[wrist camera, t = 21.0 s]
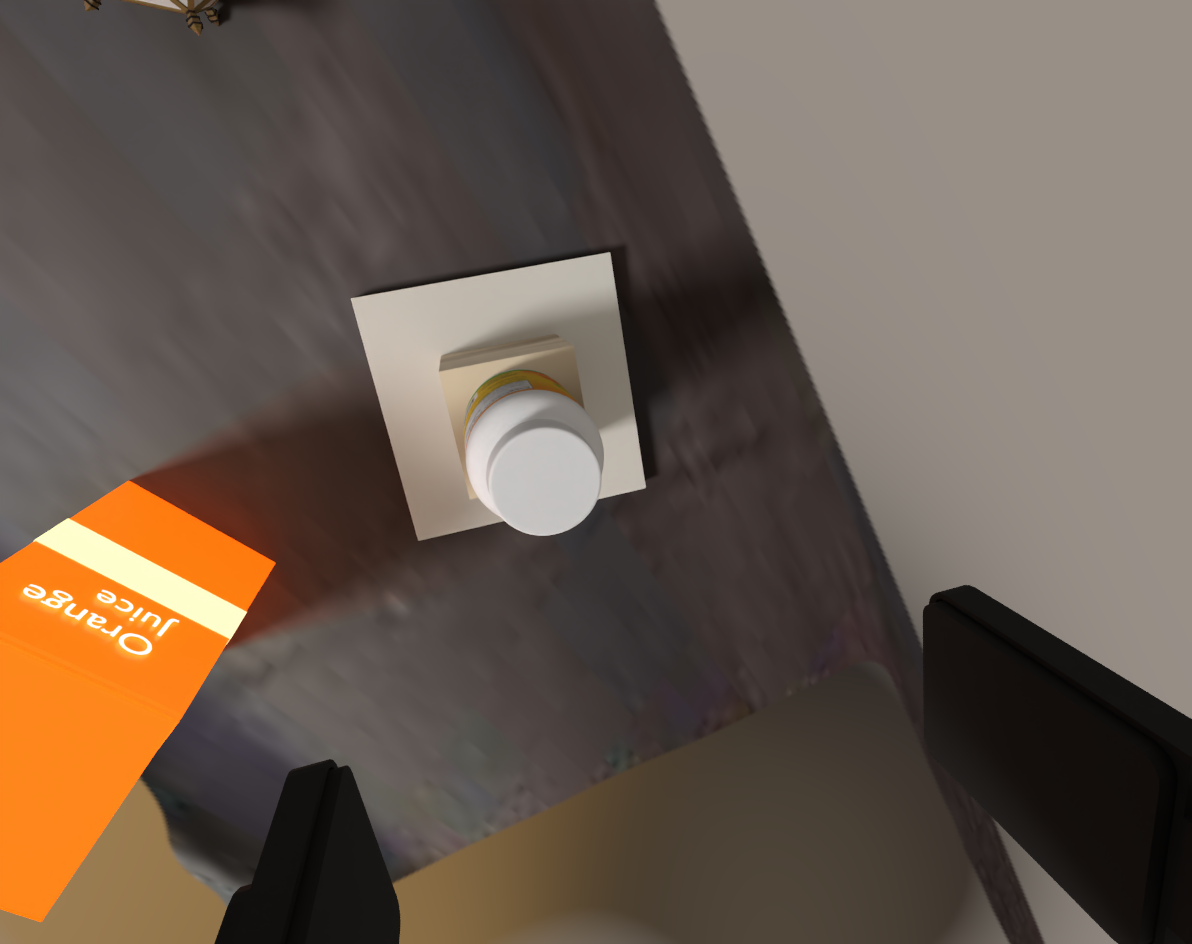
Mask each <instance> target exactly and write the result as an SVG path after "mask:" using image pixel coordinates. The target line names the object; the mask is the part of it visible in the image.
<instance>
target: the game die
mask: <svg viewBox="0 0 1192 944" xmlns="http://www.w3.org/2000/svg"><path fill="white" fill-rule="evenodd" d="M121 1H126V2H130V3H135V4H140V5H144V6H149V7H154V8H158V9H163V10H167V11H172V12H177V13H181V14H186V15H187V19H186V21H187V22H188V24H189V25H188V27H189V28H190V29H192V30H193V31H195V32H196V33H197V34H198V35H199V36H200V35H201V31H202V29H203V24H202V22H200V17H199V16H197V15H196V13H199V12H202V11H204V10H205V11H206V12H205V14H206V15H207V16H208V17H207V18H208V19H209V21H210V22H211V23H214V24H216V25H218V26H219V19H220V14H218V13H217V10H216V9H214V8H213V7H212V6H213V5H214V4H215V3H216V2H217V1H218V0H121ZM84 3H85V10H86V11H90V10H94V9H97V10H99V8H98V6H99V4H100V5H101V2H100V0H84Z"/></svg>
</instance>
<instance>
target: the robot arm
mask: <svg viewBox="0 0 1192 944" xmlns="http://www.w3.org/2000/svg"><path fill="white" fill-rule="evenodd" d="M923 691H924V739H925V742H926V745H927V747H928V749H929V751H930V753H931V754H932V756H933V757H934V758H935V759H936V761H937V762H938V763H939V764H940V765H941V766H942V767H943V768H944V769H945V770H946V771H947V772H948V773H949V774H950V775H951V776H952V777H953V778H954V779H955V780H956V781H957V782H958V783H959V784H960V785H961V786H962V787H963V788H964V789H965V790H966V791H967V792H968V793H969V794H970V795H971V796H972V797H973V798H974V799H975V800H976V801H977V802H978V803H979V804H980V805H981V806H982V807H983V808H984V809H985V810H986V811H987V812H988V813H989V814H990V815H991V816H992V817H993V818H994V819H995V820H996V821H997V822H998V823H999V824H1000V825H1001V826H1002V827H1003V828H1004V829H1005V830H1006V831H1007V832H1008V834H1009V835H1010V836H1012V837H1013V839H1014V840H1015V841H1016V842H1017V843H1018V844H1019V845H1020V846H1021V847H1022V848H1023V849H1024V850H1025V851H1026V852H1027V853H1028V854H1029V855H1030V856H1031V857H1032V858H1033V859H1034V860H1035V861H1036V862H1037V863H1038V864H1039V865H1040V866H1041V867H1042V868H1043V869H1044V870H1045V871H1046V872H1047V873H1048V874H1049V875H1050V876H1051V877H1052V878H1053V879H1054V880H1055V881H1056V882H1057V883H1058V884H1059V885H1060V886H1061V887H1062V888H1063V889H1064V890H1065V891H1066V892H1067V893H1068V894H1069V895H1070V896H1071V897H1072V898H1073V899H1074V900H1075V901H1076V902H1077V903H1078V904H1079V905H1080V906H1081V908H1083V910H1084V911H1085V912H1086V913H1087V914H1088V915H1089V916H1090V917H1091V918H1092V919H1093V920H1094V921H1095V922H1096V923H1098V925H1099V926H1100V927H1101V928H1102V929H1103V930H1104V931H1105V932H1106V933H1107V934H1108V935H1109V936H1110V937H1111V938H1112V939H1113V940H1114V941H1116V942H1117V943H1118V944H1192V719H1191V718H1189V717H1187V716H1185V715H1184V714H1182V713H1181V712H1179V711H1177V710H1176V709H1174V708H1172V707H1171V706H1169V705H1167V704H1166V703H1164V702H1163V701H1161V700H1159V699H1158V698H1156V697H1154V696H1153V695H1151V694H1149V693H1148V692H1146V691H1144V690H1143V689H1141V688H1139V687H1138V686H1136V685H1134V684H1133V683H1131V682H1130V681H1128V680H1126V679H1125V678H1123V677H1121V676H1120V675H1118V674H1116V673H1115V672H1113V671H1111V670H1110V669H1108V668H1106V667H1105V666H1103V665H1102V664H1100V663H1098V662H1097V661H1095V660H1093V659H1091V658H1090V657H1088V656H1087V655H1085V654H1084V653H1082V652H1080V651H1079V650H1077V649H1075V648H1074V647H1072V646H1070V645H1069V644H1067V643H1065V642H1064V641H1062V640H1060V639H1059V638H1057V637H1055V636H1054V635H1052V634H1051V633H1049V632H1047V631H1046V630H1044V629H1042V628H1041V627H1039V626H1037V625H1036V624H1034V623H1032V622H1031V621H1029V620H1028V619H1026V618H1024V617H1022V616H1021V615H1019V614H1018V613H1016V612H1014V611H1013V610H1011V609H1009V608H1008V607H1006V606H1004V605H1003V604H1001V603H1000V602H998V601H996V600H994V599H993V598H991V597H990V596H988V595H986V594H985V593H983V592H981V591H980V590H978V589H976V588H975V587H972V586H970V585H963V586H960V587H956V588H953V589H949V590H946V591H942V592H938V593H935V594H934V595H932V596H931V598H930V602H929V605H927V606H925V608H924V610H923ZM399 934H400V910H399V904H398V900H397V896H396V893H395V890H394V888H393V885H392V882H391V879H390V876H389V874H388V871H387V868H386V865H385V862H384V860H383V857H382V854H381V851H380V848H379V846H378V843H377V840H376V837H375V834H374V832H373V829H372V826H371V823H370V820H369V818H368V815H367V812H366V809H365V807H364V804H363V801H362V798H361V795H360V793H359V790H358V787H357V784H356V781H355V779H354V776H353V773H352V771H351V769H350V767H349V766H343V767H339V768H338V767H337V764H336V763H335V762H334V760H331V759H329V760H326V761H322V762H318V763H315V764H311V765H307V766H304V767H300V768H296V769H293V770H291V771H290V772H289V774H288V776H287V778H286V781H285V784H284V787H283V790H282V793H281V796H280V799H279V802H278V805H277V808H276V811H275V814H274V817H273V820H272V824H271V827H270V830H269V833H268V836H267V839H266V842H265V845H264V848H263V851H262V854H261V857H260V860H259V863H258V866H257V869H256V872H255V875H254V878H253V881H252V884H250V885H246V886H243V887H240V888H239V889H238V890H237V891H236V892H235V893H234V894H233V896H232V898H231V900H230V903H229V905H228V907H227V910H226V913H225V916H224V918H223V921H222V924H221V927H220V930H219V933H218V935H217V938H216V941H215V944H399Z"/></svg>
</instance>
